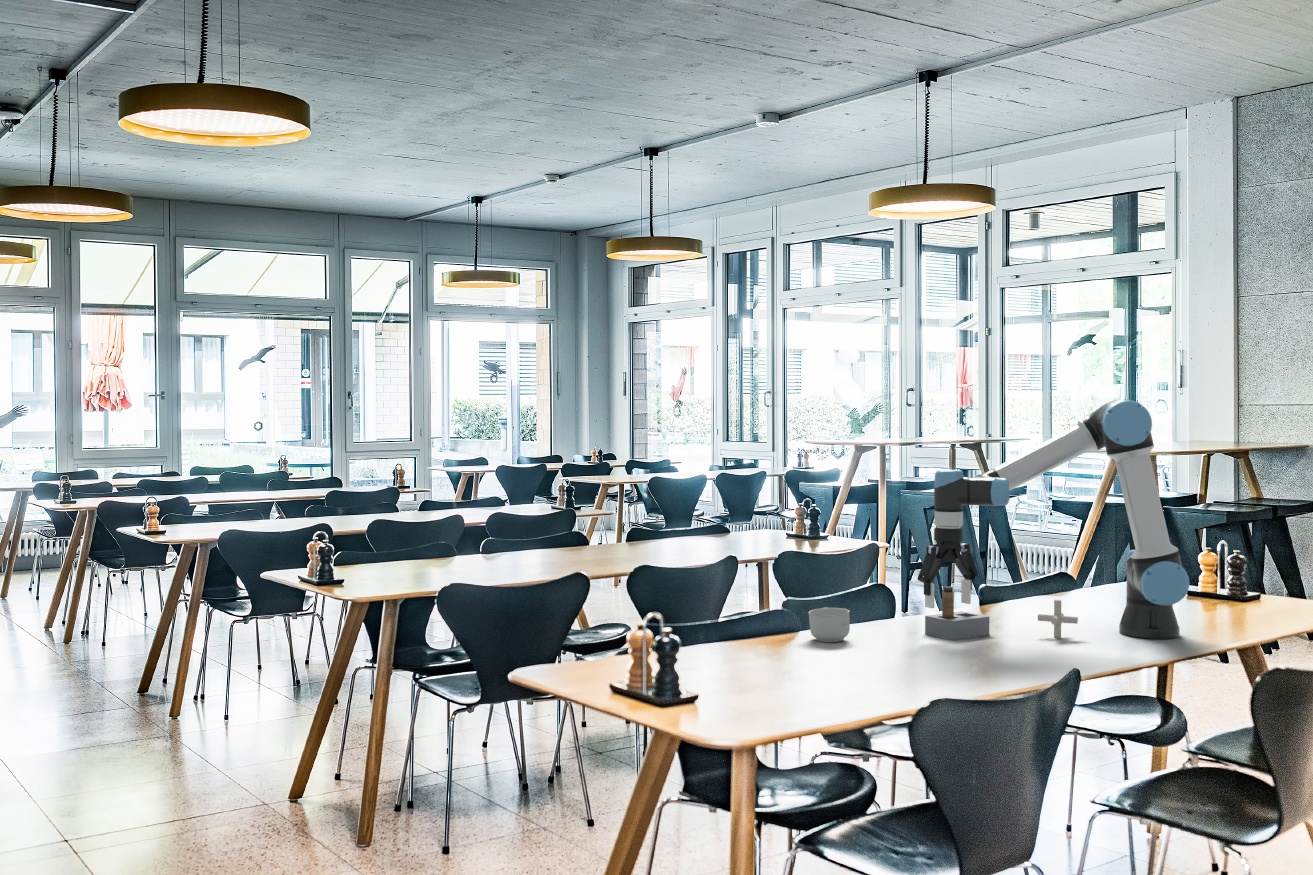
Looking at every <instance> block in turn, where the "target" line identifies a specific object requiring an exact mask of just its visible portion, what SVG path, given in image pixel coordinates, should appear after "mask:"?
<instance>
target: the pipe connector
mask: <svg viewBox="0 0 1313 875" xmlns="http://www.w3.org/2000/svg"><path fill="white" fill-rule="evenodd" d="M1053 605H1054V606H1053V607H1054V608H1053V614H1046V613H1045V614H1043V613H1042V614H1041V613H1038V614H1037V621H1039V622H1050V623H1051V624H1052V625H1053V638H1055V639H1061V638H1062V624H1063V623H1064V624H1073V625H1077V624H1078V622H1079V620H1078V619H1079V618H1078V616H1070V615H1069V616H1068V615H1064V613H1063V612H1062V600H1061V599H1054V600H1053Z"/></svg>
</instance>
